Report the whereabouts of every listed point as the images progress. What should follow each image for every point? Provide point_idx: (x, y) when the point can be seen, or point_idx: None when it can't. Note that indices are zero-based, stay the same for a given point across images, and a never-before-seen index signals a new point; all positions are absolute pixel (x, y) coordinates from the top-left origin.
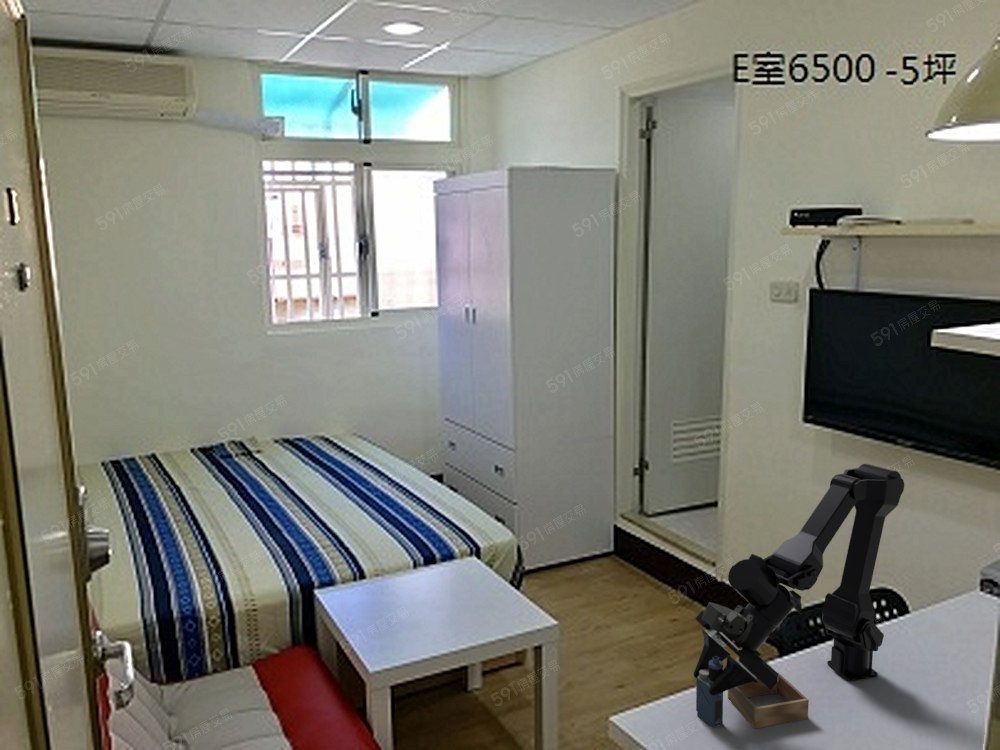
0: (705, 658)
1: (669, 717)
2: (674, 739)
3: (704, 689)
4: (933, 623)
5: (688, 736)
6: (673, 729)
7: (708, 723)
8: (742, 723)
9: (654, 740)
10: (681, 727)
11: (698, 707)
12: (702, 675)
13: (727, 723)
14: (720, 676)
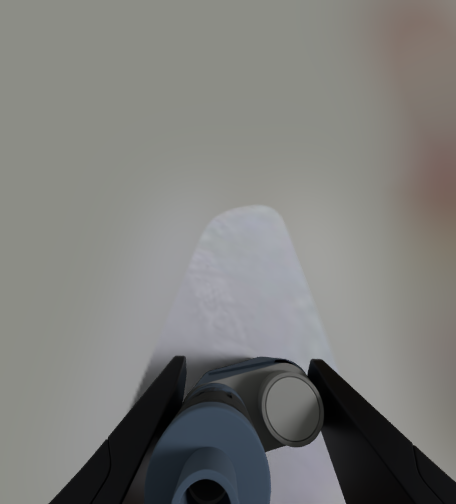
0: (376, 466)
1: (269, 289)
2: (196, 264)
3: (242, 371)
4: None
5: (194, 296)
6: (227, 278)
7: (219, 368)
8: None
9: (206, 229)
10: (228, 297)
11: (256, 358)
12: (270, 377)
13: None
14: (129, 440)
